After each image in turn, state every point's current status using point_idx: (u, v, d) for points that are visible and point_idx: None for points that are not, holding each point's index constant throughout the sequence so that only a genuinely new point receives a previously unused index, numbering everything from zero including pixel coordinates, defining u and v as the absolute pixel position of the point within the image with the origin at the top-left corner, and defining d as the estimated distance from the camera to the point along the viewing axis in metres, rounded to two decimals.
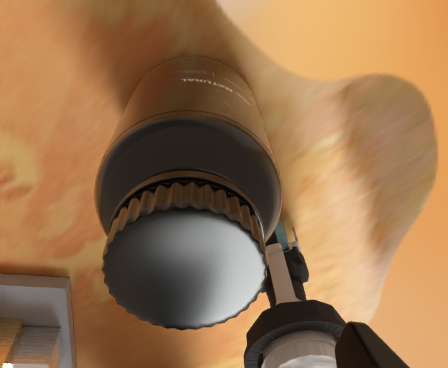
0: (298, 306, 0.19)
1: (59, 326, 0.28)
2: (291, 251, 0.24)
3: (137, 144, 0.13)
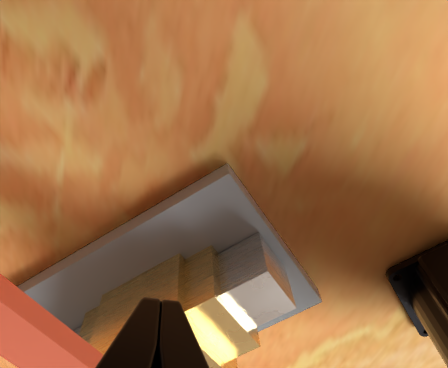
0: None
1: (256, 231, 0.21)
2: None
3: None
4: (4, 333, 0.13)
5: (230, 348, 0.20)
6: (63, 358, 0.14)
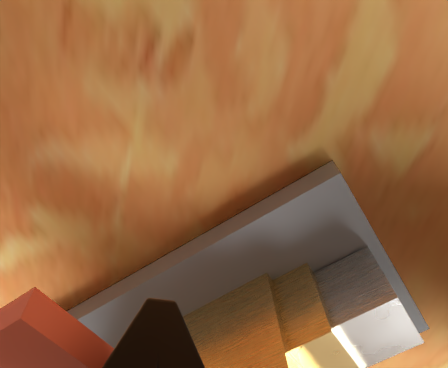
0: None
1: (364, 245, 0.17)
2: None
3: None
4: None
5: None
6: None
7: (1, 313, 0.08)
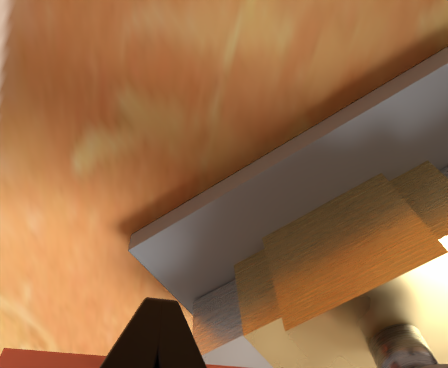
0: None
1: None
2: None
3: None
4: None
5: None
6: None
7: None
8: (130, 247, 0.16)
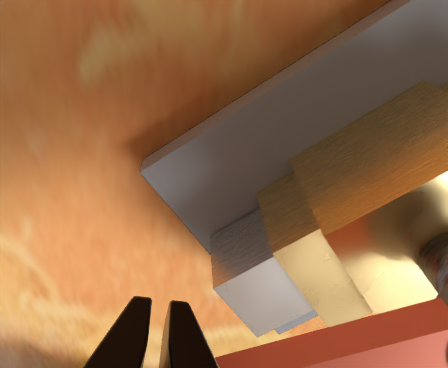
0: None
1: None
2: None
3: None
4: None
5: None
6: None
7: None
8: (142, 170, 0.15)
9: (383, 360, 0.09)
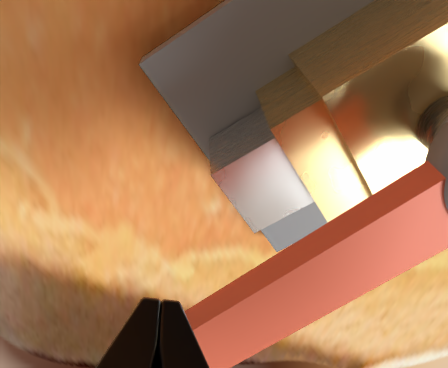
0: None
1: None
2: None
3: None
4: (220, 345, 0.11)
5: None
6: (267, 297, 0.10)
7: None
8: (141, 64, 0.14)
9: (385, 233, 0.09)
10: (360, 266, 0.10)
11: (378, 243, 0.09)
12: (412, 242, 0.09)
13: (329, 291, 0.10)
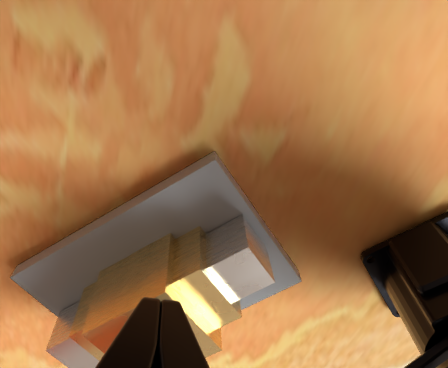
0: None
1: (240, 214, 0.23)
2: None
3: None
4: None
5: (215, 318, 0.22)
6: None
7: None
8: (12, 275, 0.24)
9: None
10: None
11: None
12: None
13: None
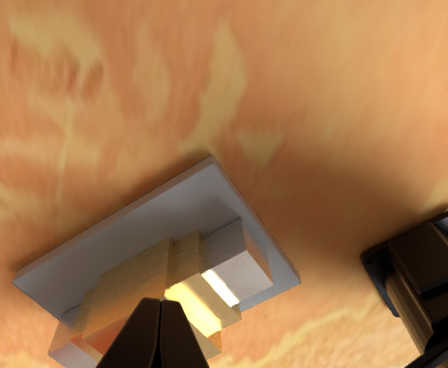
0: None
1: (239, 216, 0.23)
2: None
3: None
4: None
5: (214, 321, 0.22)
6: None
7: None
8: (14, 280, 0.24)
9: None
10: None
11: None
12: None
13: None
